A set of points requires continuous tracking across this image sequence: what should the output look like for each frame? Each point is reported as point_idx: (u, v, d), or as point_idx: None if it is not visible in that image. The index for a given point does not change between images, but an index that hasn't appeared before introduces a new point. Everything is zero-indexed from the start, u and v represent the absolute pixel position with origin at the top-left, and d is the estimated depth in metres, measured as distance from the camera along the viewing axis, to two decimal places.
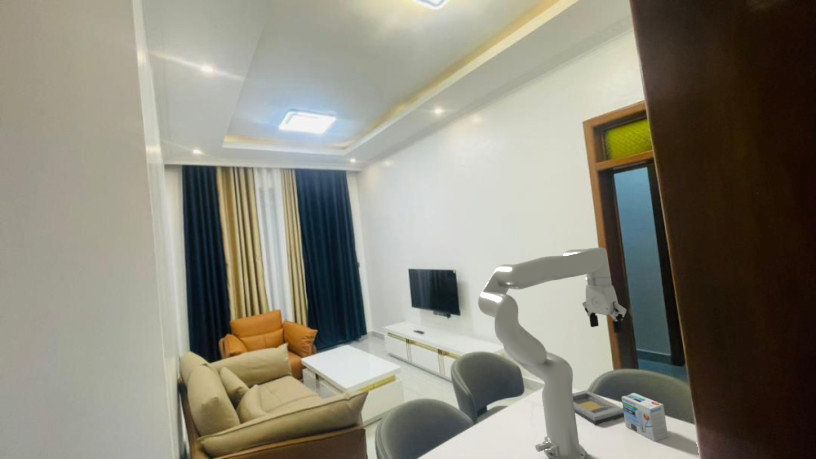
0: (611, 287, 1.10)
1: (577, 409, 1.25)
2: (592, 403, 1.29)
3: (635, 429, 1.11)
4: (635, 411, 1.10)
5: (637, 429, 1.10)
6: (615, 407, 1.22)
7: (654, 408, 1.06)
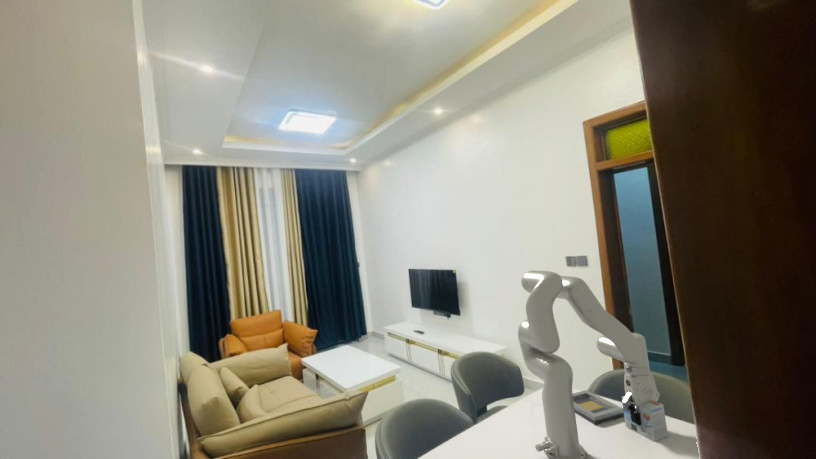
0: None
1: (577, 409, 1.25)
2: (592, 403, 1.29)
3: (635, 429, 1.11)
4: None
5: (637, 428, 1.10)
6: (615, 407, 1.22)
7: (654, 408, 1.06)
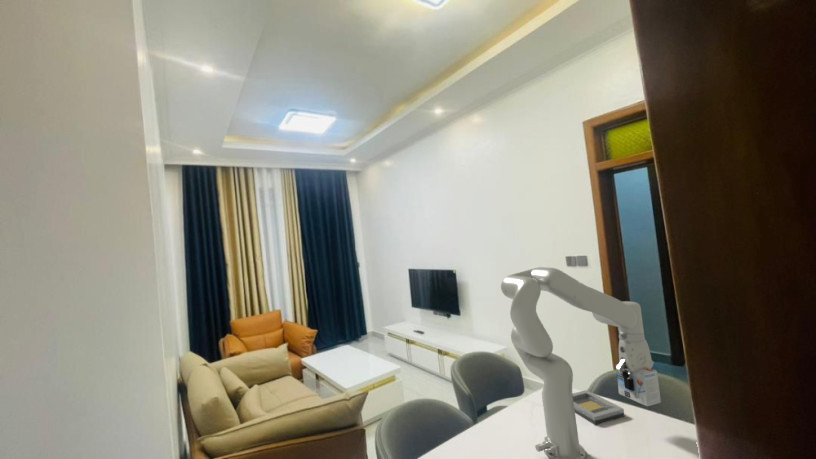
0: None
1: (577, 409, 1.25)
2: (592, 403, 1.29)
3: (628, 396, 1.11)
4: None
5: (630, 395, 1.11)
6: (615, 407, 1.22)
7: (648, 374, 1.07)
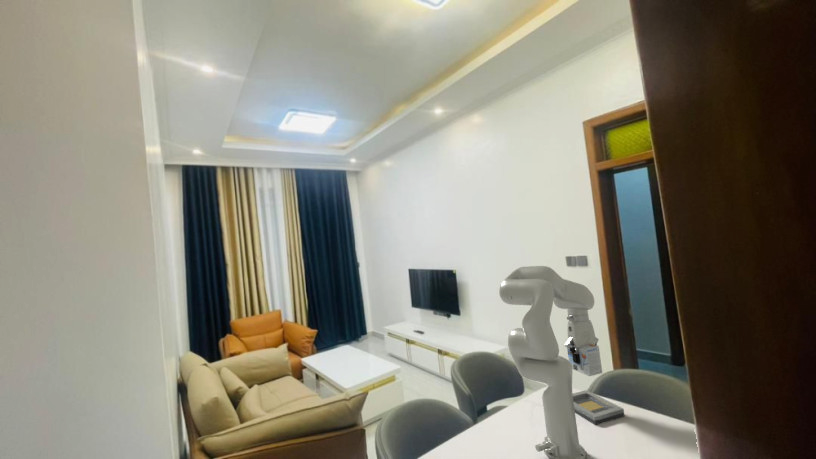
0: None
1: (577, 409, 1.25)
2: (592, 403, 1.29)
3: (576, 368, 1.29)
4: None
5: (578, 368, 1.28)
6: (615, 407, 1.22)
7: (590, 348, 1.24)
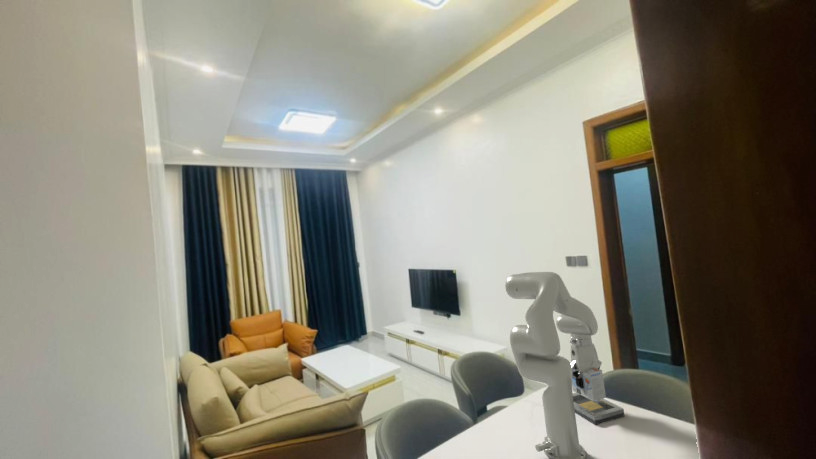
0: None
1: (577, 409, 1.25)
2: (592, 403, 1.29)
3: (579, 392, 1.28)
4: None
5: (581, 392, 1.28)
6: (615, 407, 1.22)
7: (594, 373, 1.23)
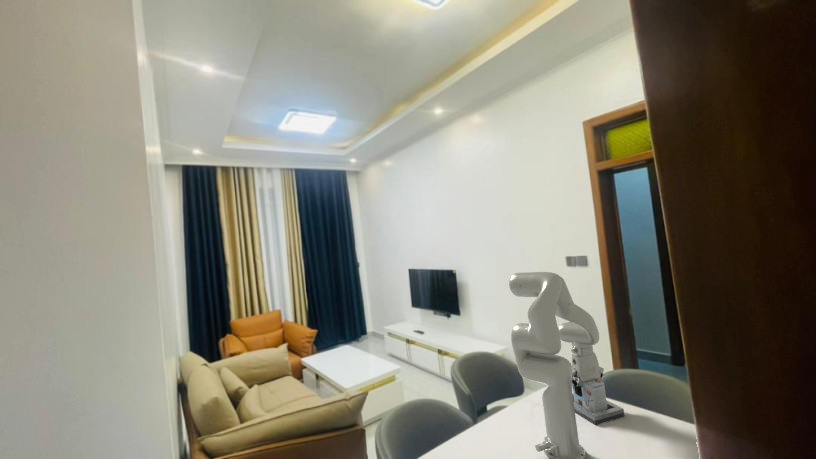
0: None
1: (577, 409, 1.25)
2: None
3: (581, 404, 1.28)
4: (581, 388, 1.27)
5: (583, 403, 1.27)
6: (615, 407, 1.22)
7: (596, 385, 1.23)
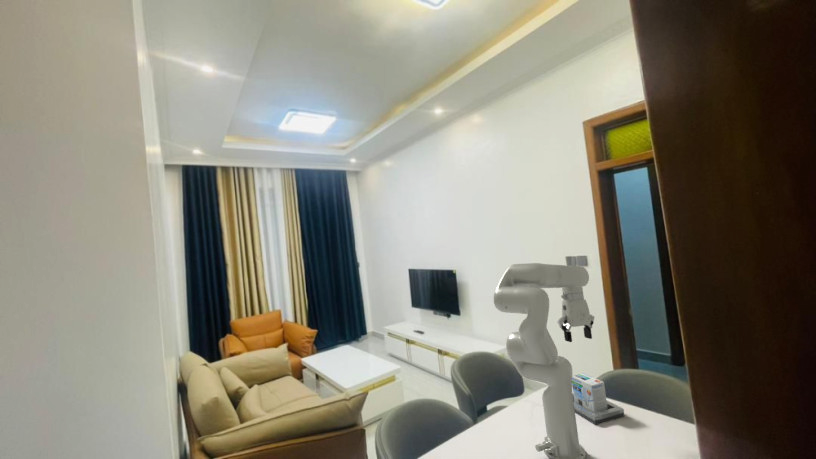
0: None
1: (577, 409, 1.25)
2: None
3: (581, 404, 1.28)
4: (581, 388, 1.27)
5: (583, 403, 1.27)
6: (615, 407, 1.22)
7: (596, 385, 1.23)
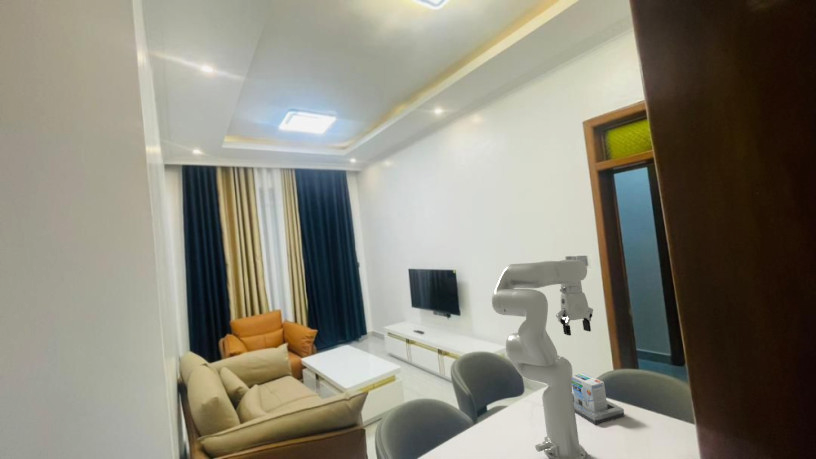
0: None
1: (577, 409, 1.25)
2: None
3: (581, 404, 1.28)
4: (581, 388, 1.27)
5: (583, 403, 1.27)
6: (615, 407, 1.22)
7: (596, 385, 1.23)
